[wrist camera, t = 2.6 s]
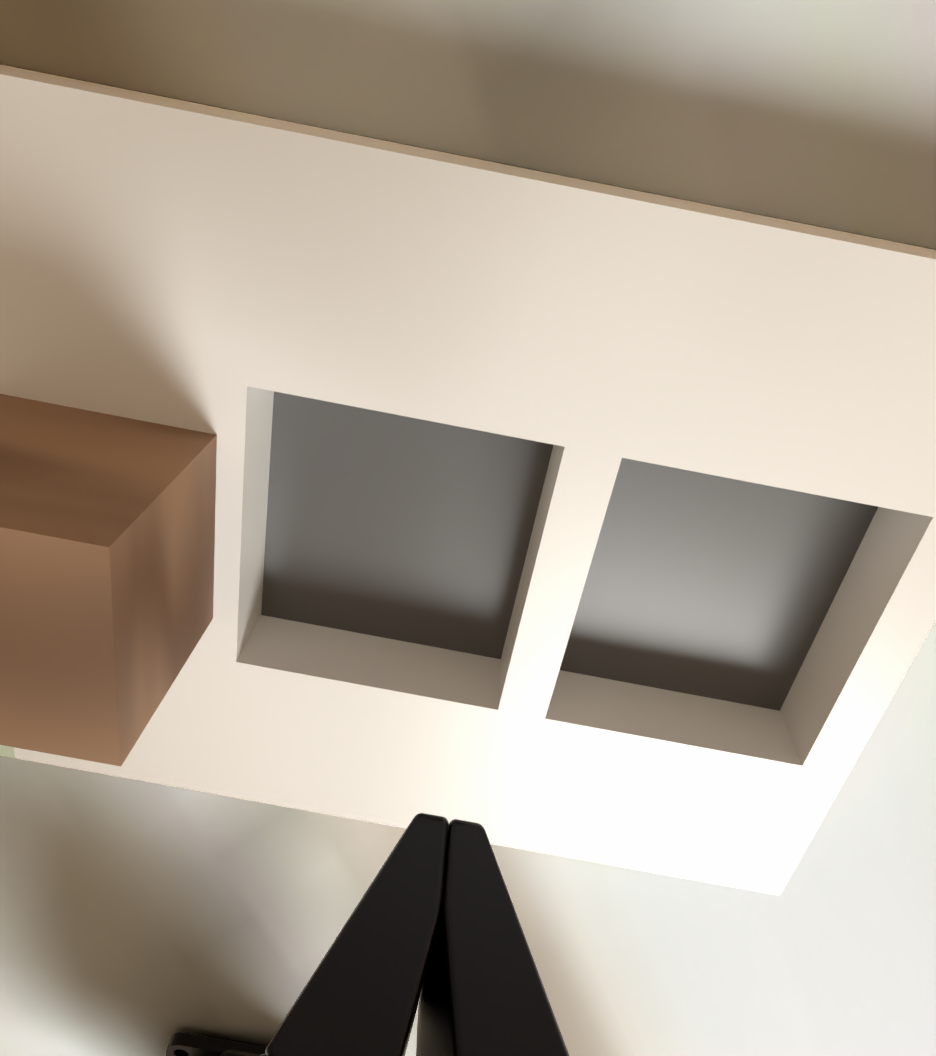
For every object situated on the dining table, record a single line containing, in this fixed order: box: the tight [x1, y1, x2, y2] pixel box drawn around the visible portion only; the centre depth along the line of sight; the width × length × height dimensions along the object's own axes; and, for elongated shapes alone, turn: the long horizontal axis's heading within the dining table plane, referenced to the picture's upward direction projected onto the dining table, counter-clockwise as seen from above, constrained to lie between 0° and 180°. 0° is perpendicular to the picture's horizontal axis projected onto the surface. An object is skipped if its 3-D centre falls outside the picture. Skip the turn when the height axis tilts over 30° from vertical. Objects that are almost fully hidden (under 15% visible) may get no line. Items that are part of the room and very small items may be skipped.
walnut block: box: [0, 394, 217, 766], centre depth 13 cm, size 4×4×4 cm
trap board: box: [0, 64, 936, 896], centre depth 15 cm, size 14×24×4 cm, turn 80°
